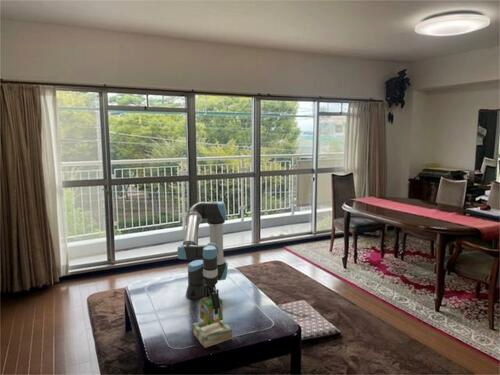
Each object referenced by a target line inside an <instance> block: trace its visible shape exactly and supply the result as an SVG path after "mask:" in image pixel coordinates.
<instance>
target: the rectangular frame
mask: <svg viewBox="0 0 500 375" xmlns="http://www.w3.org/2000/svg"><path fill="white" fill-rule="evenodd" d="M192 334H193V335H194V337H196V339H197V341H199V343H200V344H201V345H202V346H203V348H204V349H206V348H208V347H211V346H214V345H217V344H220V343H222V342H227V341H229V340H231V339H233V329H232V328H231V327H230V326H229V325H228V323H227V322H225V320H224V319H223V320H221V321H218V322H216V323H213V324H211V325H208V324H207V323H206V322H204V321H203V320H200V321H198V322H194V323H192Z"/></svg>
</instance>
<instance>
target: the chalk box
mask: <svg viewBox="0 0 500 375" xmlns="http://www.w3.org/2000/svg"><path fill="white" fill-rule="evenodd" d="M211 294H213V293H211ZM219 302H220V308H218V319H216V320H213V309H212V308H214V307H213V303H212V298H211V296H208V297H205V298H202V299H200V300H199V312H200V314H199V318H200V320H201V321H204V322H206V323H207V324H208V325H211V324H213V323H216V322H218V321H221V320H223V321H224V318H223V317H224V316H223V315H224V314H223V311H224V310H223V309H224V307H223V305H224V304H223V300H222V299H221V298H220V297H219Z"/></svg>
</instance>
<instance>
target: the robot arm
mask: <svg viewBox="0 0 500 375" xmlns="http://www.w3.org/2000/svg"><path fill="white" fill-rule="evenodd" d="M227 215H228V214H227V208H226V204H225V202H224V201H199V202H197V203H194V204H193V205H192V206H191V207H190V208H189V209H188V210H187V214H186V216H185V217H186V219H185V220H186V224H185V225H186V226H185V231H184V235H183V236H184V237H183V243H182V244H180V245H178V246H177V252H176V253H177V258H178V259H179V260H192V261H191V262H189V263H188V265H187V278H188V279H187V280H188V281H187V282H188V284H187V287H186V291H185V297H186V298H187V299H190V300H193V301H194V300H195V301H198V300H199V301H200V299H202V298H205V297H208V296H211V298H212V303H213V307H214V308H212V309H213V320H216V319H218V308H220V302H219V298H220V296H219V295H220V294H219V289H218V288H216V285H217V284H218V283H219V282H218V281H225V280H227V274H228V267H229V263H228V262H227V261H226V259H225V258H224V230H223V228H224V227H223V225H224V224H225V223H226V220H228V216H227ZM203 220H204V221H206V222H207V224H208V225H209V242H208V243H207V244H197V243H198V235H199V229H200V223H201V221H203ZM211 293H213V294H211Z"/></svg>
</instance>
